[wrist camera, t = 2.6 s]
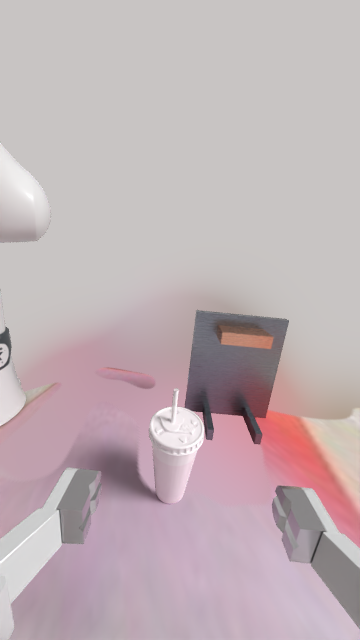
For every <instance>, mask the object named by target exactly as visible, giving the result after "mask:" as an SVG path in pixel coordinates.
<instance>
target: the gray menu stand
mask: <svg viewBox="0 0 360 640" xmlns="http://www.w3.org/2000/svg"><path fill="white" fill-rule="evenodd" d="M288 323H289V320H287V319H279V318H270V317H260V316H250V315H239V314H229V313H219V312H209V311H199V310H197V311H196V318H195V327H194V335H193V344H192V351H191V360H190V368H189V377H188V385H187V393H186V401H185V408H186V409H189V410H191V411H196V412H203V419H204V427H205V434H206V439H207V440H212V438H213V432H214V428H213V423H212V418H211V413H217V414H218V413H219V414H228V415H239V416H243V417H244V420H245V423H246V425H247V427H248V430H249V432H250V435H251V437H252V440H253V442H254V444H260V442H261V438H262V433H261V430H260V428H259V426H258V424H257V422H256V420H255V418H254V417H260V418H266V413H267V409H268V405H269V401H270V397H271V393H272V388H273V384H274V380H275V376H276V372H277V368H278V364H279V360H280V356H281V351H282V347H283V343H284V339H285V335H286V331H287V327H288Z"/></svg>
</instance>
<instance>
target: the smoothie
mask: <svg viewBox="0 0 360 640" xmlns="http://www.w3.org/2000/svg"><path fill="white" fill-rule="evenodd" d="M178 393H179V389H177V388H175V389H174V394H173V404H172V407H167V408H164V409H161V410H160V411H158V412H156V413H155V414H154V415H153V417H152V418H151V421H150V428H149V437H150V439H151V442H152V448H153V461H154V472H155V473H154V474H155V488H156V494H157V496H158V498H159V499H160V500H161V501H162V502H164V503H166V504H174V503H177V502H178V501H180V500H181V498H182V497H183V495H184V492H185V488H186V485H187V482H188V479H189V475H190V472H191V469H192V466H193V463H194V459H195V456H196V453H197V450H198V449H199V447H200V446H201V445H202V443H203V439H204V425H203V422H202V420H201V419H200V417H199V416H198V415H197V414H195V413H194V412H193V411H191V410H189V409H186V408H183V407H177V402H178Z"/></svg>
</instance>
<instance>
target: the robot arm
mask: <svg viewBox="0 0 360 640" xmlns="http://www.w3.org/2000/svg"><path fill="white" fill-rule="evenodd" d="M50 218H51V211H50V205H49V202H48V199H47V196H46V194H45V192H44V190H43V189H42V187H41V186H40V184H39V183H38V182H37V180H36V179H35V178H34V177H33V176H32V175H31V174H30V173H29V172H28V171H27V170H25V169H24V168H23V167H22V166H21V165H20V164H19V163H18V162H17V161H16V160H15V159H14V158H13V157H12V156H11V155H10V153H9V152H8V151H7V150H6V149H5V147H4V146H3V145H2V143H1V142H0V242H3V243H4V242H27V241H37V240H39V239H40V238H41V237H42V236H43V235H44V234H45V233H46V231H47V229H48V227H49V224H50ZM10 338H11V337H10V334H9V329H8V328H7V327H5V321H4V314H3V306H2V299H1V290H0V426H1V425H3V424H4V423H6V422H7V421H9V420H10V419H12V418H13V417H14V416H15V415H16V414H17V413H18V412H19V411H20V410H21V409H22V408H23V406H24V404H25V402H26V396H25V394H24V392H23V390H22V388H21V383H20V379H19V378H17V374H16V371H15V368H14V364H13V361H12V358H11V340H10ZM100 479H101V471H96V470H87V469H79V468H67V469H66V470H65V471H64V472H63V474H62V475H61V477H60V479H59V480H58V482H57V484H56V486H55V487H54V489H53V491H52V492H51V494H50V496H49V497H48V499H47V501H46V502H45V504H44V506H43V507H42V508H38V509H37V510H36V511H34V512H33V513H32V514H31V515H29V516H28V517H27V518H26V519H24V520H23V521H22V522H21V523H19V524H18V525H17V526H16V527H14V528H13V529H12V530H11V531H10V532H8V533H7V534H6V535H5V536H3V537H2V538H1V539H0V640H9V638H10V636H11V634H12V632H13V630H14V628H15V627H14V618H13V613H12V608H11V603H12V602H13V601H14V600H15V598H16V597H17V596H18V595H19V594H20V593H21V592H22V590H23V589H24V588H25V587H26V586H27V585H28V583H29V582H30V581H31V580H32V579H33V578H34V577H35V575H36V574H37V573H38V572H39V571H40V570H41V568H42V567H43V566H44V565H45V564H46V563H47V561H48V560H49V559H50V558H51V557H52V556H53V555H54V553H55V552H56V551H57V550H58V549H59V548H60V546H61V545H62V543H68V544H84V541H85V539H86V536H87V533H88V530H89V528H90V525H91V515H92V514H93V513H94V512H95V511H96V508H97V506H98V503H99V499H100V495H101V483H100V482H99V481H100ZM275 492H276V494H277V496H276V497H275V498H274V499H273V503H272V510H273V516H274V520H275V522H276V525H277V527H278V528H279V529H280V530H281V531H282V533H283V535H282V542H283V544H284V547H285V550H286V552H287V555H288V558H289V561H292V562H300V563H309V564H311V566H312V567H313V569H314V570H315V571H316V573H317V574H318V575H319V577H320V578H321V579H322V580H323V582H324V583H325V584H326V586H327V587H328V588H329V590H330V591H331V592H332V594H333V595H334V596H335V597H336V599H337V600H338V601H339V603H340V604H341V605H342V607H343V608H344V609H345V611H346V612H347V613H348V615H349V616H350V617H351V618H352V620H353V621H354V622H355V624H356V625H357V626H358V628H359V629H360V549H359V548H358V547H357V546H356V545H355V544H354V543H353V542H352V541H351V540H350V539H349V538H348V537H346V536H345V535H344V534H342V533H339V531H338V529H337V528H336V526H335V524H334V523H333V521H332V519H331V518H330V516H329V514H328V513H327V511H326V509H325V508H324V506H323V504H322V503H321V501H320V499H319V498H318V496H317V494H316V493H315V491H314V490H313V489H312V488H301V487H293V486H277V487H276V491H275Z"/></svg>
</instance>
